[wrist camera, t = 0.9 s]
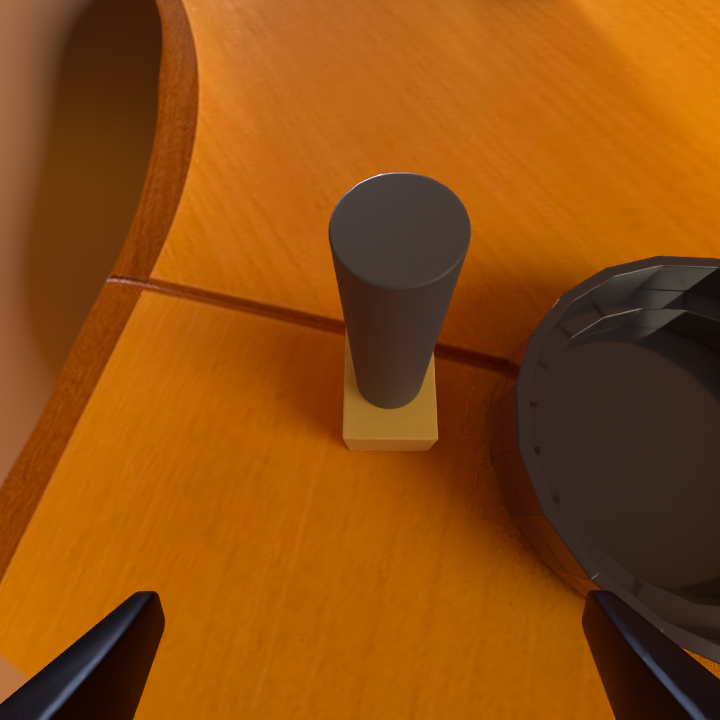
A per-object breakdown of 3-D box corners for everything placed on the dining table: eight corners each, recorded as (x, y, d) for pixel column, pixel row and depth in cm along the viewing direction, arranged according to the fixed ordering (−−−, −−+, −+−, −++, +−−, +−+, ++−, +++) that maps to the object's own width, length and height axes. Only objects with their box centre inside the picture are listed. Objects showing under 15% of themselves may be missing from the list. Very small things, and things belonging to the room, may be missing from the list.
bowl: (915, 585, 19) (1095, 612, 14) (563, 680, 18) (627, 740, 13) (716, 277, 25) (795, 223, 20) (447, 340, 24) (464, 300, 19)
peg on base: (428, 451, 22) (514, 350, 8) (348, 450, 22) (291, 351, 8) (424, 349, 24) (486, 124, 10) (351, 350, 24) (309, 130, 10)
